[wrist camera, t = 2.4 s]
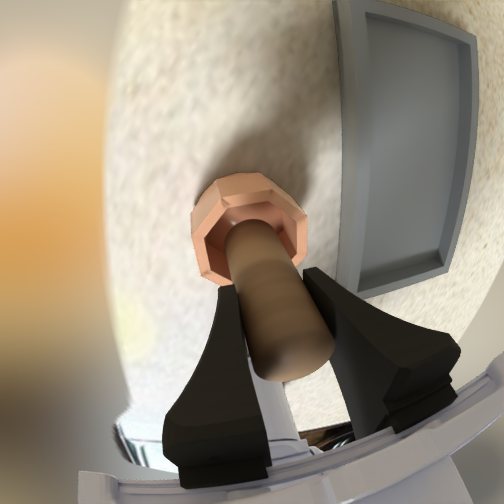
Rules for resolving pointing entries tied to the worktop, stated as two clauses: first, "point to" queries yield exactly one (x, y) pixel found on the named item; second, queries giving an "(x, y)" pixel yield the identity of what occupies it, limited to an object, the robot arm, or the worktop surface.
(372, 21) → the tray
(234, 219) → the cup
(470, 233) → the worktop surface
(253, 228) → the pin
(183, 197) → the worktop surface
